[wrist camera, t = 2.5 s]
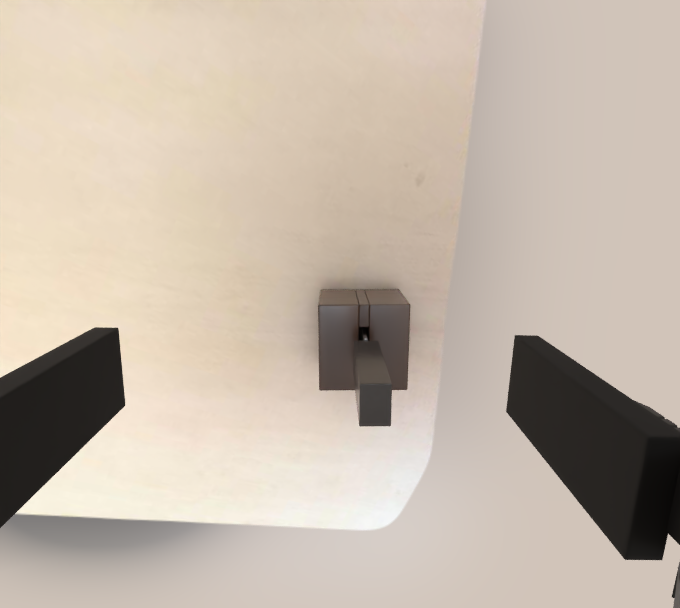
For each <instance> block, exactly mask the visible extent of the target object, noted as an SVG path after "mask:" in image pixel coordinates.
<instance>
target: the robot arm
mask: <svg viewBox="0 0 680 608" xmlns="http://www.w3.org/2000/svg"><path fill="white" fill-rule="evenodd" d="M124 406H125V397H124V386H123V375H122V364H121V353H120V342H119V331H118V328H93V329H91V330H89V331H87V332H85V333H84V334H82V335H80V336H78V337H76V338H74V339H72V340H70V341H69V342H67V343H65V344H63V345H61V346H59V347H57V348H55V349H54V350H52V351H50V352H48V353H46V354H44V355H42V356H40V357H39V358H37V359H35V360H33V361H31V362H29V363H27V364H25V365H23V366H22V367H20V368H18V369H16V370H14V371H12V372H10V373H8V374H7V375H5V376H3V377H1V378H0V528H1V527H2V526H3V525H4V524H5V523H6V522H7V521H8V520H9V519H10V518H11V517H12V516H13V515H14V514H15V513H16V512H17V511H18V510H19V509H20V508H21V507H22V506H23V505H24V504H25V503H26V502H27V501H28V500H29V499H30V498H31V497H32V496H33V495H34V494H35V493H36V492H37V491H38V490H39V489H40V488H41V487H42V486H44V485H45V484H46V483H47V482H48V481H49V480H50V479H51V478H52V477H53V476H54V475H55V474H56V473H57V472H58V471H59V470H60V469H61V468H62V467H63V466H64V465H65V464H66V463H67V462H68V461H69V460H70V459H71V458H72V457H73V456H74V455H75V454H76V453H77V452H78V451H79V450H80V449H81V448H82V447H83V446H84V445H85V444H86V443H87V442H88V441H89V440H90V439H91V438H92V437H94V436H95V435H96V434H97V433H98V432H99V431H100V430H101V429H102V428H103V427H104V426H105V425H106V424H107V423H108V422H109V421H110V420H111V419H112V418H113V417H114V416H115V415H116V414H117V413H118V412H119V411H120V410H121V409H122V408H123V407H124ZM506 412H507V413H508V414H509V416H510V417H511V418H512V419H513V420H514V422H515V423H516V424H517V426H518V427H519V428H520V429H521V431H522V432H523V433H524V434H525V436H526V437H527V438H528V439H529V440H530V442H531V443H532V444H533V446H534V447H535V448H536V449H537V451H538V452H539V453H540V454H541V455H542V457H543V458H544V459H545V460H546V462H547V463H548V464H549V465H550V467H551V468H552V469H553V470H554V472H555V473H556V474H557V475H558V477H559V478H560V479H561V480H562V482H563V483H564V484H565V485H566V487H567V488H568V489H569V490H570V491H571V493H572V494H573V495H574V497H575V498H576V499H577V500H578V502H579V503H580V504H581V505H582V506H583V508H584V509H585V510H586V512H587V513H588V514H589V515H590V517H591V518H592V519H593V520H594V522H595V523H596V524H597V525H598V526H599V528H600V529H601V530H602V532H603V533H604V534H605V535H606V536H607V538H608V539H609V540H610V541H611V543H612V544H613V545H614V546H615V548H616V549H617V550H618V551H619V553H620V554H621V555H622V556H623V558H624V559H625V560H662V558H663V554H664V549H665V544H666V540H667V535H668V534H669V535H671V537H673V539H674V540H676V542H677V543H678V544H679V545H680V428H677V425H675V424H674V423H672V422H671V421H669V420H668V419H665V418H664V417H663V416H662V415H660V414H659V413H657V412H656V411H654V410H653V409H651V408H650V407H648V406H645V405H643V404H641V403H638V402H636V401H634V400H632V399H630V398H629V397H627V396H626V395H625V394H623V393H622V392H620V391H618V390H617V389H616V388H614V387H613V386H611V385H610V384H608V383H607V382H605V381H604V380H602V379H601V378H599V377H598V376H596V375H595V374H594V373H592V372H591V371H589V370H587V369H586V368H585V367H583V366H582V365H580V364H579V363H577V362H576V361H574V360H573V359H571V358H570V357H568V356H567V355H565V354H564V353H562V352H561V351H560V350H558V349H556V348H555V347H554V346H552V345H551V344H549V343H548V342H546V341H545V340H543V339H542V338H540V337H539V336H523V335H516V336H515V339H514V348H513V357H512V366H511V375H510V383H509V392H508V401H507V411H506ZM672 597H673V598H675V600H674V607H673V608H680V563H679V567H678V572H677V576H676V581H675V585H674V589H673V594H672Z"/></svg>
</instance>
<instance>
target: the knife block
mask: <svg viewBox="0 0 680 608" xmlns="http://www.w3.org/2000/svg"><path fill="white" fill-rule="evenodd" d="M318 322H319V389H320V390H355V384H354V375H353V342H354V341H359V327H365V330H366V334H367V338H368V341H378V342H379V345H380V348H381V352H382V355H383V358H384V361H385V364H386V368H387V371H388V374H389V377H390V380H391V383H392V390H407V382H408V352H409V323H410V304H409V303H408V301H407V300H406V299H405V297H404V296H403V294H402V293H401V292H400V290H399V289H370V290H321V291H320V297H319V304H318Z"/></svg>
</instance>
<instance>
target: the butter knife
mask: <svg viewBox="0 0 680 608" xmlns="http://www.w3.org/2000/svg"><path fill="white" fill-rule="evenodd" d="M353 375H354V384H355V393H356V401H357V410H358V419H359V426H391V396H392V383H391V380H390V377H389V374H388V371H387V368H386V364H385V361H384V358H383V355H382V352H381V348H380V345H379V342H378V341H368V338H367V334H366V330H365V327H359V341H354V342H353Z"/></svg>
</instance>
